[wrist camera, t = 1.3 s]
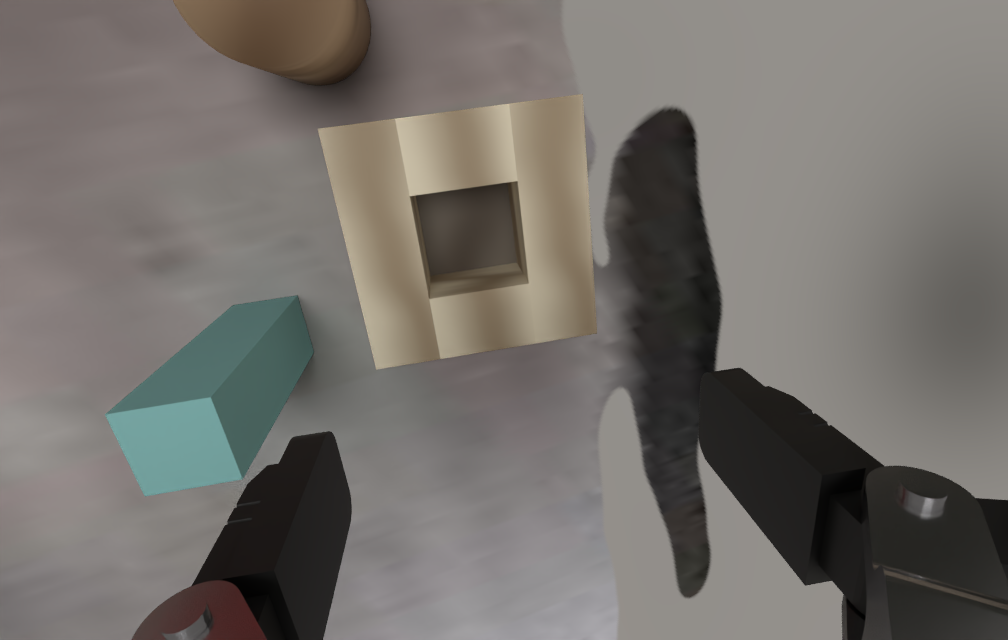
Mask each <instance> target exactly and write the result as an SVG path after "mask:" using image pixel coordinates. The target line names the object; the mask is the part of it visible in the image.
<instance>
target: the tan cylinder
mask: <svg viewBox="0 0 1008 640" xmlns="http://www.w3.org/2000/svg"><path fill="white" fill-rule="evenodd" d="M173 2H174V4H175V6H176V7H177V9H178V11H179V12H180V14H181V16H182V17H183V18H184V20H185V21H186V22H187V24H188V25H189V26H190V27H191V29H192V30H193V31H194V32H195V33H196V34H197V35H198V36H199V37H200V38H201V39H202V40H203V41H205V42H206V43H207V44H208V45H209V46H211V47H212V48H214V49H215V50H216V51H218V52H219V53H221V54H223V55H225V56H227V57H229V58H231V59H233V60H236V61H238V62H241V63H244V64H247V65H250V66H253V67H256V68H259V69H262V70H265V71H268V72H271V73H274V74H277V75H280V76H283V77H286V78H289V79H292V80H295V81H298V82H301V83H305V84H309V85H329V84H333V83H336V82H339V81H341V80H343V79H345V78H346V77H348V76H349V75H351V74H352V73H353V72H354V71H355V70H356V69H357V68H358V66H359V65H360V64H361V62H362V61H363V59H364V57H365V55H366V52H367V50H368V46H369V43H370V36H371V23H370V15H369V10H368V7H367V4H366V1H365V0H173Z"/></svg>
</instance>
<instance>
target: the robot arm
mask: <svg viewBox="0 0 1008 640" xmlns="http://www.w3.org/2000/svg"><path fill="white" fill-rule="evenodd" d="M698 432H699V442H700V447H701V450H702V453H703V455H704V457H705V459H706V460H707V462H708V463H709V465H710V466H711V467H712V468H713V470H714V471H715V472H716V474H717V475H718V476H719V477H720V478H721V480H722V481H723V482H724V484H725V485H726V486H727V487H728V488H729V490H730V491H731V492H732V494H733V495H734V496H735V498H736V499H737V500H738V501H739V503H740V504H741V505H742V506H743V508H744V509H745V510H746V511H747V513H748V514H749V515H750V516H751V518H752V519H753V520H754V522H755V523H756V524H757V525H758V526H759V528H760V529H761V530H762V532H763V533H764V534H765V535H766V536H767V538H768V539H769V540H770V542H771V543H772V544H773V545H774V547H775V548H776V549H777V550H778V552H779V553H780V554H781V556H782V557H783V558H784V559H785V561H786V562H787V563H788V564H789V566H790V567H791V568H792V569H793V571H794V572H795V573H796V574H797V576H798V577H799V578H800V579H801V581H802V582H803V583H804V585H811V584H816V583H822V582H826V581H833V582H834V583H835V585H837V587H838V588H839V589H840V590H841V591H842V592H843V594H844V595H843V601H842V640H1008V500H995V499H994V500H993V499H979V498H975V497H974V496H973V495H971V493H969V492H968V491H967V490H966V489H964V488H963V487H961V486H960V485H958V484H957V483H955V482H953V481H951V480H949V479H947V478H945V477H943V476H940V475H938V474H935V473H932V472H929V471H926V470H923V469H918V468H913V467H907V466H884V465H882V464H881V463H880V462H878V461H877V460H876V459H874V458H873V457H872V456H871V455H869V454H868V453H867V452H865V451H864V450H863V449H862V448H860V447H859V446H858V445H856V444H855V443H853V442H852V441H851V440H850V439H848V438H847V437H846V436H845V435H843V434H842V433H841V432H839V431H838V430H837V429H835V428H834V427H833V426H831V425H830V426H828V424H827V422H826V421H825V420H824V419H822V418H821V417H820V416H818V415H817V414H813V413H812V410H811V409H809V408H808V407H807V406H805V405H804V404H803V403H801V402H800V401H799V400H797V399H796V398H795V397H793V396H791V395H789V394H786V393H784V392H782V391H779V390H777V389H774V388H772V387H769V386H767V387H765V386H763V385H762V384H761V383H760V382H758V381H757V380H756V379H754V378H753V377H752V376H751V375H750V374H748V373H747V372H746V371H744V370H743V369H741V368H734V369H728V370H721V371H715V372H708V373H705V374H704V375H703V376H702V379H701V384H700V407H699V431H698ZM351 513H352V507H351V495H350V490H349V487H348V483H347V479H346V476H345V472H344V468H343V465H342V461H341V457H340V454H339V450H338V446H337V443H336V439H335V437H334V435H333V433H332V432H330V431H328V432H322V433H315V434H309V435H302V436H295V437H293V438H292V439H291V440H290V442H289V444H288V446H287V448H286V450H285V452H284V454H283V456H282V458H281V460H280V462H279V464H274V465H267V466H266V467H265V468H264V469H263V470H262V471H261V472H260V473H259V474H258V475H257V476H256V477H255V478H254V479H253V480H251V481H250V482H249V483H248V484H247V486H246V488H245V490H244V492H243V493H242V495H241V497H240V499H239V501H238V503H237V508H234V510H233V512H232V513H231V515H230V517H229V519H228V521H227V522H228V524H227V525H225V526H224V528H223V530H222V532H221V534H220V535H219V537H218V539H217V541H216V543H215V544H214V546H213V548H212V550H211V552H210V554H209V555H208V557H207V559H206V561H205V563H204V564H203V566H202V568H201V570H200V572H199V574H198V575H197V577H196V579H195V581H194V583H193V584H192V586H191V587H189V588H186V589H184V590H182V591H181V592H179V593H177V594H175V595H174V596H172V597H170V598H169V599H167V600H166V601H165V602H163V603H162V604H161V605H159V606H158V607H157V608H156V609H155V610H154V611H153V612H152V613H151V614H150V615H149V616H148V617H147V618H146V619H145V620H144V621H143V622H142V624H141V625H140V626H139V628H138V629H137V631H136V632H135V634H134V636H133V638H132V640H323V637H324V633H325V629H326V625H327V620H328V616H329V612H330V608H331V603H332V599H333V595H334V590H335V586H336V582H337V578H338V573H339V569H340V565H341V561H342V556H343V552H344V548H345V544H346V539H347V535H348V531H349V527H350V522H351Z"/></svg>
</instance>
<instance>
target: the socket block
mask: <svg viewBox="0 0 1008 640" xmlns="http://www.w3.org/2000/svg"><path fill="white" fill-rule="evenodd" d="M318 132H319V136H320V140H321V144H322V148H323V153H324V157H325V161H326V165H327V169H328V173H329V177H330V181H331V185H332V189H333V194H334V198H335V202H336V206H337V210H338V214H339V218H340V222H341V226H342V230H343V235H344V239H345V243H346V247H347V251H348V255H349V259H350V263H351V267H352V271H353V276H354V280H355V284H356V288H357V292H358V296H359V300H360V304H361V308H362V312H363V316H364V321H365V325H366V329H367V333H368V337H369V341H370V345H371V349H372V353H373V357H374V362H375V366H376V370H377V369H383V368H389V367H395V366H401V365H407V364H414V363H420V362H426V361H432V360H438V359H444V358H450V357H456V356H462V355H468V354H475V353H481V352H487V351H493V350H499V349H505V348H511V347H517V346H523V345H529V344H535V343H542V342H548V341H554V340H560V339H566V338H572V337H578V336H584V335H590V334H596V333H597V325H596V308H595V292H594V275H593V259H592V242H591V226H590V211H589V193H588V176H587V160H586V143H585V126H584V110H583V94H580V95H572V96H565V97H557V98H549V99H542V100H534V101H527V102H519V103H511V104H504V105H496V106H489V107H481V108H473V109H466V110H458V111H450V112H443V113H435V114H428V115H420V116H412V117H405V118H397V119H390V120H382V121H374V122H367V123H359V124H351V125H344V126H336V127H329V128H321V129H318Z"/></svg>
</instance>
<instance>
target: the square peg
mask: <svg viewBox="0 0 1008 640" xmlns="http://www.w3.org/2000/svg"><path fill="white" fill-rule="evenodd" d="M313 353H314V351H313V347H312V344H311V340H310V337H309V334H308V330H307V327H306V323H305V320H304V316H303V313H302V310H301V306H300V303H299V299H298V296H291V297H284V298H278V299H271V300H265V301H258V302H251V303H245V304H238V305H233V306H232V307H230V308H229V309H228V310H227V311H226V312H225V313H223V314H222V315H221V316H220V317H219V318H217V319H216V320H215V321H214V322H213V323H212V324H210V325H209V326H208V327H207V328H206V329H205V330H203V331H202V332H201V333H200V334H199V335H198V336H196V337H195V338H194V339H193V340H192V341H191V342H189V343H188V344H187V345H186V346H185V347H184V348H182V349H181V350H180V351H179V352H178V353H177V354H175V355H174V356H173V357H172V358H171V359H170V360H168V361H167V362H166V363H165V364H164V365H163V366H161V367H160V368H159V369H158V370H157V371H155V372H154V373H153V374H152V375H151V376H150V377H148V378H147V379H146V380H145V381H144V382H143V383H141V384H140V385H139V386H138V387H137V388H136V389H134V390H133V391H132V392H131V393H130V394H129V395H127V396H126V397H125V398H124V399H123V400H122V401H120V402H119V403H118V404H117V405H116V406H115V407H113V408H112V409H111V410H110V411H109V412H108V413H106V414H105V415H106V418H107V420H108V422H109V424H110V426H111V428H112V430H113V432H114V434H115V436H116V438H117V440H118V442H119V444H120V446H121V448H122V450H123V453H124V455H125V457H126V459H127V461H128V463H129V465H130V467H131V469H132V471H133V473H134V475H135V477H136V479H137V481H138V483H139V486H140V488H141V490H142V492H143V494H144V496H150V495H156V494H161V493H167V492H173V491H179V490H184V489H190V488H196V487H201V486H207V485H213V484H218V483H224V482H230V481H235V480H241V479H243V478H244V476H245V474H246V472H247V471H248V469H249V467H250V465H251V463H252V462H253V460H254V458H255V456H256V455H257V453H258V451H259V449H260V447H261V446H262V444H263V442H264V440H265V439H266V437H267V435H268V433H269V431H270V430H271V428H272V426H273V424H274V422H275V421H276V419H277V417H278V415H279V414H280V412H281V410H282V408H283V406H284V405H285V403H286V401H287V399H288V398H289V396H290V394H291V392H292V390H293V389H294V387H295V385H296V383H297V382H298V380H299V378H300V376H301V374H302V373H303V371H304V369H305V367H306V365H307V364H308V362H309V360H310V358H311V357H312V355H313Z"/></svg>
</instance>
